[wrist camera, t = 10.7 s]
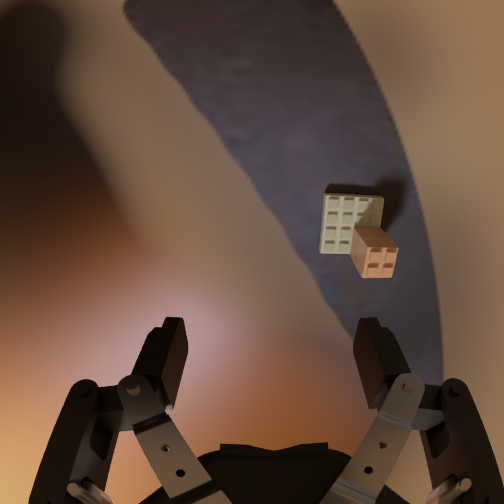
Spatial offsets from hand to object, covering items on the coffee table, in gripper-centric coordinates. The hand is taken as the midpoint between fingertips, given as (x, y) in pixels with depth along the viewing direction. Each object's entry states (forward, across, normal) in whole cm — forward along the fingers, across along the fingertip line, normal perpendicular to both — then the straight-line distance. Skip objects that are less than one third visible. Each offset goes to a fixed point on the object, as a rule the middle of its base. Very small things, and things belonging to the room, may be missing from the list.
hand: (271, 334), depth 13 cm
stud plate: (+27, -11, +5) cm, 30 cm away
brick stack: (+25, -13, +7) cm, 30 cm away
